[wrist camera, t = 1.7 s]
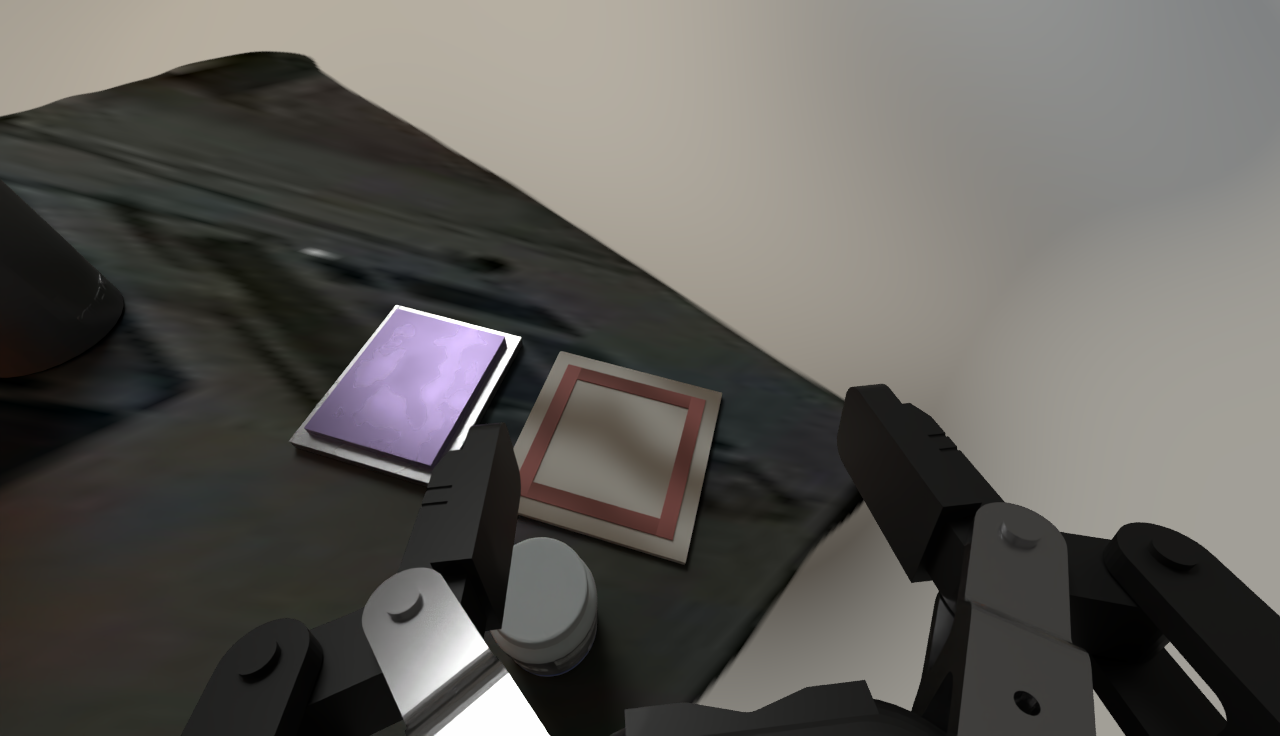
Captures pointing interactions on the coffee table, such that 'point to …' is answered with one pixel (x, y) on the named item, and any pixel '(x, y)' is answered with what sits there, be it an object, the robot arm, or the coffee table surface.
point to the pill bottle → (548, 608)
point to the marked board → (617, 455)
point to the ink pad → (410, 395)
